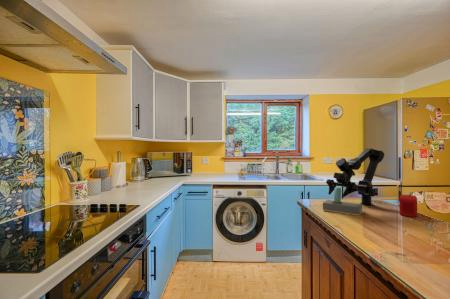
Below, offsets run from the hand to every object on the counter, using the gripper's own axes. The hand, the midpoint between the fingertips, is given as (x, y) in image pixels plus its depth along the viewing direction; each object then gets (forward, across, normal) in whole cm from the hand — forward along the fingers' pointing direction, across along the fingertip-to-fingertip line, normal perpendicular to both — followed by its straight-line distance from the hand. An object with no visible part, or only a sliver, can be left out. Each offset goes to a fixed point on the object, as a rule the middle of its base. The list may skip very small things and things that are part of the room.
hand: (335, 195), depth 145 cm
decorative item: (-12, +27, +26) cm, 39 cm away
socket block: (+5, +3, +8) cm, 10 cm away
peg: (+5, 0, +7) cm, 9 cm away
